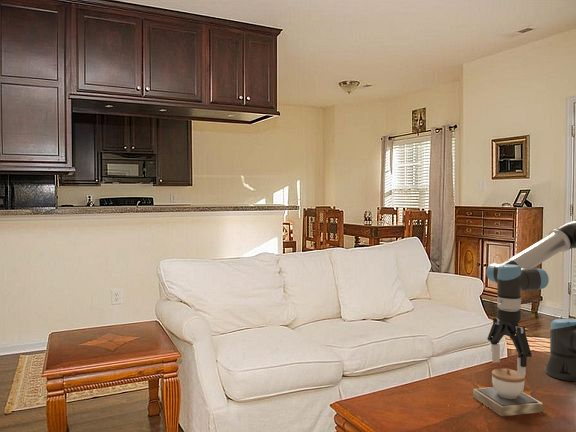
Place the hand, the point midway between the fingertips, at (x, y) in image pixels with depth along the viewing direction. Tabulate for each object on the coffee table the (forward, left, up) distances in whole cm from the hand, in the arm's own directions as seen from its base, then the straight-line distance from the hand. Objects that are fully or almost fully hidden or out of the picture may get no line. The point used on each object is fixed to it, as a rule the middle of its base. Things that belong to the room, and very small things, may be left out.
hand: (508, 368), depth 171 cm
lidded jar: (0, 0, -10) cm, 10 cm away
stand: (0, 0, -13) cm, 13 cm away
